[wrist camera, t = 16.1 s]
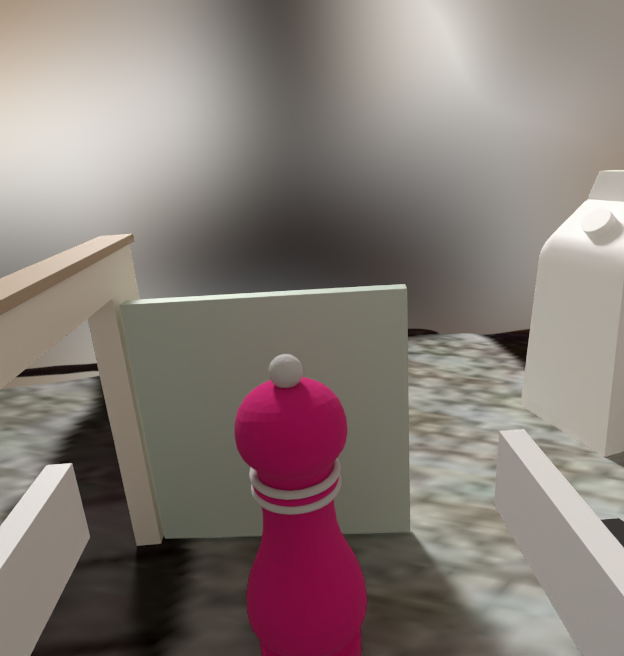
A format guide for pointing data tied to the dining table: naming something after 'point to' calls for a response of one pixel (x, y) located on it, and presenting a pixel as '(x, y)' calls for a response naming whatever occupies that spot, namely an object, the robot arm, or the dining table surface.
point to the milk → (582, 323)
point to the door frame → (108, 340)
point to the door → (251, 371)
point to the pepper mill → (299, 518)
